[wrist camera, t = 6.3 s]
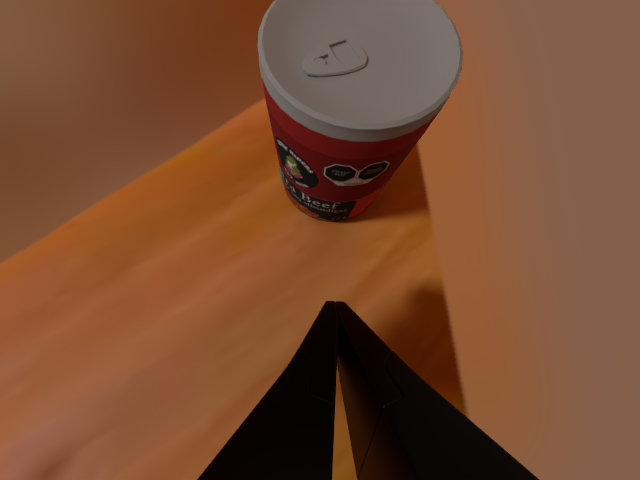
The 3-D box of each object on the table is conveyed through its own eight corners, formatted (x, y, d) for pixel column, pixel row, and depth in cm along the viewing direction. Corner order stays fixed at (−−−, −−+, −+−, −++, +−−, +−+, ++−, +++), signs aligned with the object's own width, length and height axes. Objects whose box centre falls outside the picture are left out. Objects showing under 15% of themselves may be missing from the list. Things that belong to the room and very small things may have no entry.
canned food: (264, 180, 19) (210, 30, 8) (331, 124, 20) (361, -62, 10) (329, 245, 18) (367, 175, 7) (394, 181, 19) (504, 47, 9)
